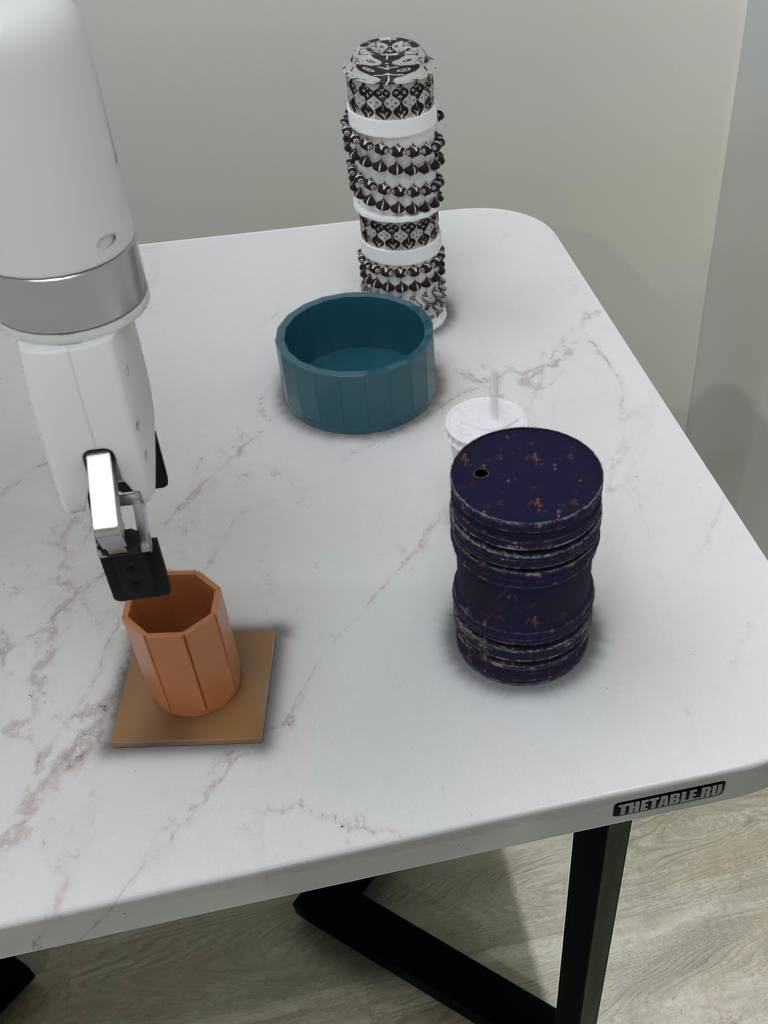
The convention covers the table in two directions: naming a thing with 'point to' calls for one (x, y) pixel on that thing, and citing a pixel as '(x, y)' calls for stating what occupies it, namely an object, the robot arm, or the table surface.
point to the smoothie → (482, 417)
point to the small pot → (185, 645)
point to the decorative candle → (396, 171)
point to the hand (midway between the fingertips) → (143, 538)
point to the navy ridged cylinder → (524, 552)
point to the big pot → (357, 362)
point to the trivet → (229, 724)
